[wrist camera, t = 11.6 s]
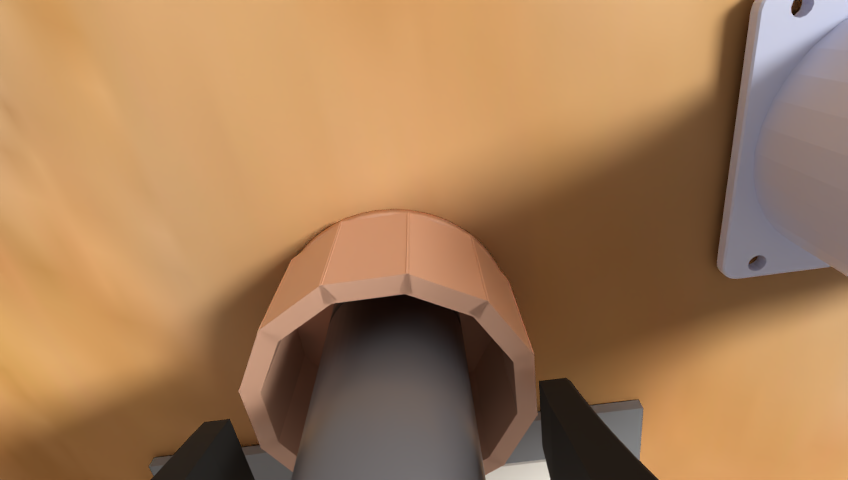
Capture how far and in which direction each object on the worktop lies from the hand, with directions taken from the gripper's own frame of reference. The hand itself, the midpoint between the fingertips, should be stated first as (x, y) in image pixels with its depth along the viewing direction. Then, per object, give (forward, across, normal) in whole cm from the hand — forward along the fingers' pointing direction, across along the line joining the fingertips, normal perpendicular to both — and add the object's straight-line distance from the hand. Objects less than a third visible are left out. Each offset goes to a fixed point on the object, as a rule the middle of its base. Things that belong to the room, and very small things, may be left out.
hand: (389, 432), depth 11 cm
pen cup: (+5, 0, 0) cm, 5 cm away
